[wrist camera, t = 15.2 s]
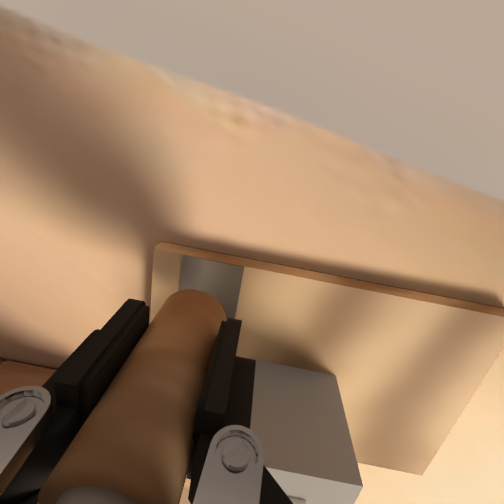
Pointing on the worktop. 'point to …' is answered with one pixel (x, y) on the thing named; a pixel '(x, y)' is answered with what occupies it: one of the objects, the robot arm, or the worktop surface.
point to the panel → (352, 344)
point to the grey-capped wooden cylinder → (144, 414)
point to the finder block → (304, 434)
